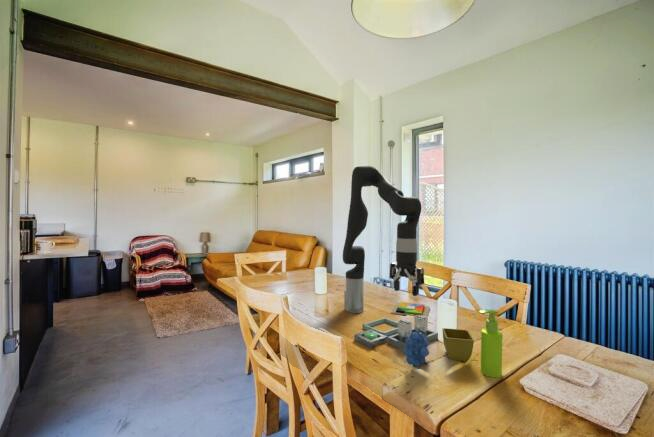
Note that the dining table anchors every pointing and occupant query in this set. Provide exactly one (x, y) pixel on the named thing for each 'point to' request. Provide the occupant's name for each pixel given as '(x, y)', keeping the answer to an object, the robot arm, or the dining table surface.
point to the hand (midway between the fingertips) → (405, 292)
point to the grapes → (416, 349)
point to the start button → (370, 335)
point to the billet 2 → (421, 324)
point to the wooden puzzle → (410, 309)
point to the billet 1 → (404, 330)
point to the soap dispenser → (491, 346)
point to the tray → (376, 322)
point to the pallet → (395, 342)
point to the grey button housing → (370, 343)
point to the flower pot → (458, 344)
